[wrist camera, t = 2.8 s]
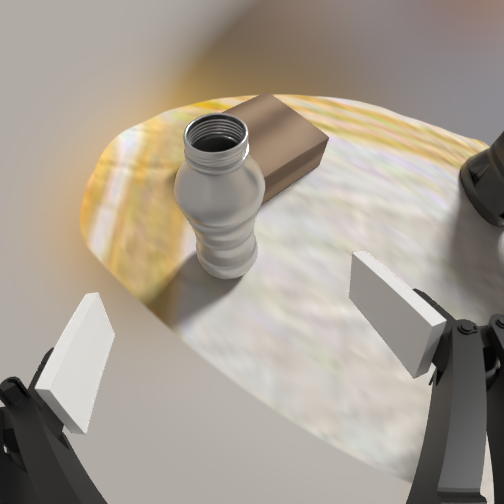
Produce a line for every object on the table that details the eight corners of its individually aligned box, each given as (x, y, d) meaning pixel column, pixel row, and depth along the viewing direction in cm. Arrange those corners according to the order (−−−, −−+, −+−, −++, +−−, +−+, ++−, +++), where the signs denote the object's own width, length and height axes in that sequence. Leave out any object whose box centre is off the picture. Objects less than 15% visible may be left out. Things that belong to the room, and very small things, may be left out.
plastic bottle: (258, 282, 33) (284, 173, 14) (199, 286, 32) (151, 181, 14) (254, 231, 35) (268, 97, 16) (198, 234, 34) (164, 103, 16)
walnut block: (319, 165, 39) (329, 137, 34) (256, 208, 36) (259, 180, 31) (264, 120, 43) (267, 91, 37) (202, 154, 39) (198, 124, 34)
